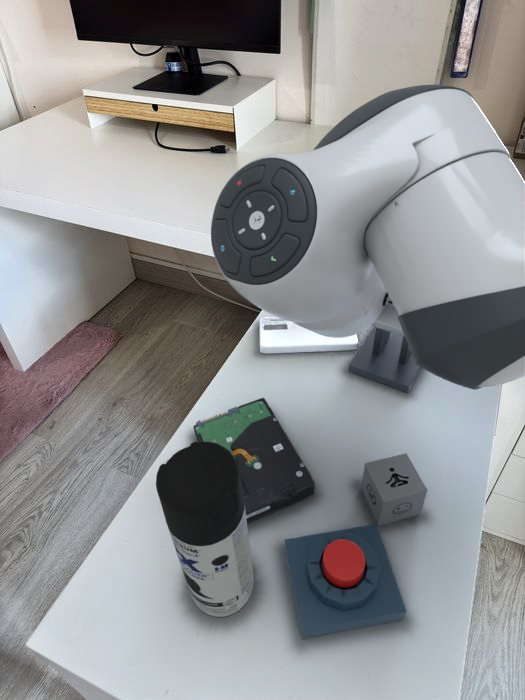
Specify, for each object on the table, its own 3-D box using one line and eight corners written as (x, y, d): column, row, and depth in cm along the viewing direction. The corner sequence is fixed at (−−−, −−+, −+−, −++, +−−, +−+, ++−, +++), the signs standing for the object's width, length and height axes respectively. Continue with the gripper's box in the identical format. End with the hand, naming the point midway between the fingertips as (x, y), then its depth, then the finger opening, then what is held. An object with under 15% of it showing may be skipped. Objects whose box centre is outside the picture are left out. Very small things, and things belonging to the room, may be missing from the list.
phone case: (260, 354, 77) (358, 350, 77) (259, 347, 76) (358, 343, 76) (259, 323, 83) (351, 319, 82) (259, 317, 82) (352, 313, 81)
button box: (374, 533, 55) (378, 515, 53) (403, 620, 49) (409, 603, 46) (284, 549, 55) (284, 531, 52) (302, 639, 48) (302, 623, 45)
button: (356, 544, 51) (358, 535, 50) (369, 584, 48) (370, 576, 47) (318, 551, 51) (318, 542, 49) (328, 591, 48) (328, 583, 46)
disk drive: (316, 495, 59) (264, 408, 69) (317, 482, 57) (263, 394, 67) (235, 531, 56) (193, 435, 66) (233, 519, 55) (190, 422, 64)
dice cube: (378, 525, 56) (383, 502, 53) (360, 487, 60) (364, 463, 56) (419, 514, 57) (427, 490, 53) (400, 477, 60) (406, 453, 57)
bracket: (407, 393, 70) (423, 322, 62) (348, 371, 74) (355, 301, 65) (434, 342, 78) (451, 272, 69) (378, 324, 81) (388, 256, 73)
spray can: (177, 582, 52) (136, 473, 39) (227, 539, 56) (205, 425, 42) (217, 633, 49) (186, 532, 35) (268, 584, 52) (258, 474, 38)
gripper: (476, 280, 37) (477, 311, 50) (244, 220, 46) (295, 259, 58) (446, 360, 38) (455, 370, 50) (221, 286, 46) (277, 311, 59)
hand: (368, 310), depth 54 cm, fingers open, 8 cm apart
